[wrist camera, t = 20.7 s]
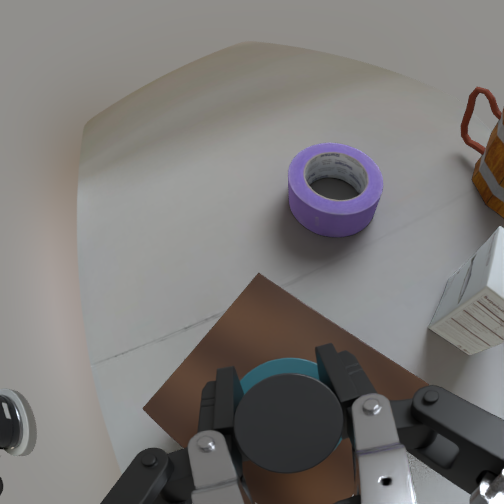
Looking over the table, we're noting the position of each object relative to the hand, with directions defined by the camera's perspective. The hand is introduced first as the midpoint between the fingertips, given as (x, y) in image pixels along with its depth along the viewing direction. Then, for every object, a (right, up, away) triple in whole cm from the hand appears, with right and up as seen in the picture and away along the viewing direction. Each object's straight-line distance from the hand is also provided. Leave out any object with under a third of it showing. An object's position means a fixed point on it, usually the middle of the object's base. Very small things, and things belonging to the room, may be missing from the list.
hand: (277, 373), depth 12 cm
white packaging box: (+24, -3, +16) cm, 29 cm away
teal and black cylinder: (+1, -6, +6) cm, 8 cm away
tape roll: (+10, +12, +26) cm, 30 cm away
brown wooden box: (+2, -10, +15) cm, 18 cm away
